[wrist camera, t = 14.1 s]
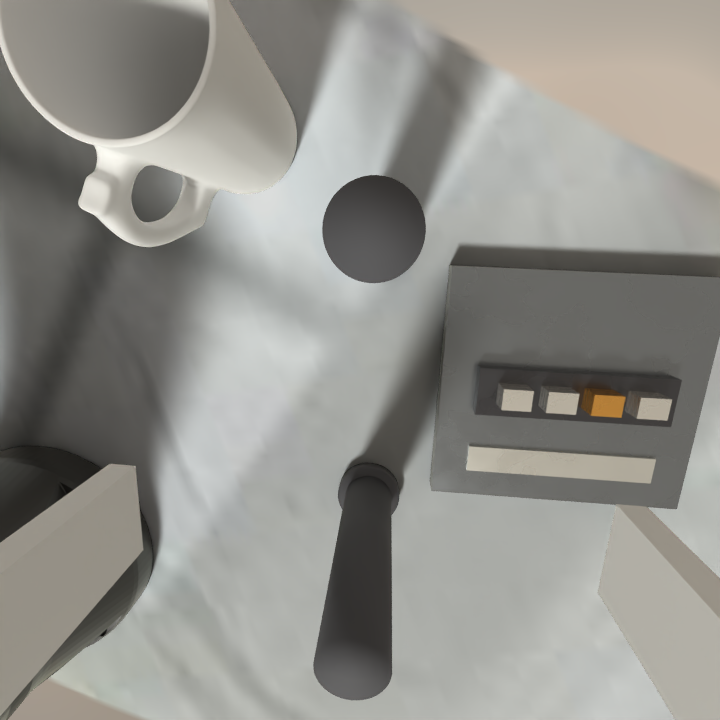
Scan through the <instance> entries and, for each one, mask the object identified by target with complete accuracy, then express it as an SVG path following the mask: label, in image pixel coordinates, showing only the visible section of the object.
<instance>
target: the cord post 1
mask: <svg viewBox="0 0 720 720" xmlns="http://www.w3.org/2000/svg"><path fill="white" fill-rule="evenodd" d="M322 229H323V240H324V244H325V248H326V250H327V253H328V255H329V257H330V258H331V260H332V262H333V263H334V264H335V265H336V267H337V268H339V269H340V270H341V271H342V272H343V273H344V274H346V275H347V276H349V277H351V278H353V279H355V280H358V281H362V282H367V283H380V282H385V281H389V280H392V279H394V278H396V277H398V276H400V275H401V274H403V273H404V272H405V271H407V270H408V269H409V268H410V267H411V266H412V265H413V263H414V262H415V261H416V259H417V258H418V256H419V254H420V252H421V249H422V247H423V244H424V240H425V233H426V225H425V217H424V213H423V210H422V208H421V205H420V203H419V201H418V200H417V198H416V197H415V195H414V194H413V193H412V192H411V191H410V190H409V189H408V188H407V187H406V186H405V185H403V184H402V183H400V182H399V181H397V180H395V179H392V178H389V177H385V176H379V175H369V176H364V177H360V178H357V179H355V180H353V181H351V182H349V183H347V184H346V185H344V186H343V187H342V188H341V189H340V190H339V191H338V192H337V193H336V194H335V195H334V196H333V198H332V199H331V201H330V203H329V205H328V207H327V209H326V212H325V215H324V219H323V228H322Z"/></svg>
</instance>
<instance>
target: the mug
mask: <svg viewBox="0 0 720 720" xmlns="http://www.w3.org/2000/svg"><path fill="white" fill-rule="evenodd" d="M0 47H1V50H2V53H3V56H4V58H5V61H6V63H7V65H8V68H9V70H10V72H11V74H12V76H13V78H14V79H15V81H16V83H17V85H18V86H19V88H20V89H21V91H22V92H23V94H24V95H25V97H26V98H27V99H28V100H29V102H30V103H31V104H32V105H33V106H34V108H35V109H36V110H37V111H38V112H39V113H40V114H41V115H42V116H43V117H44V118H45V119H47V120H48V121H49V122H50V123H51V124H53V125H54V126H55V127H57V128H58V129H59V130H61V131H62V132H64V133H66V134H67V135H69V136H71V137H73V138H75V139H77V140H80V141H82V142H85V143H88V144H92V145H94V147H95V149H96V152H97V164H96V168H95V171H94V172H93V173H92V174H90V175H88V176H87V178H86V180H85V182H84V186H83V189H82V193H81V195H80V198H79V202H78V203H79V206H80V207H81V208H82V209H83V210H85V211H87V212H89V213H91V214H94V215H95V216H96V217H97V218H98V219H99V220H100V221H101V222H102V223H103V224H104V225H105V226H106V227H107V228H108V229H110V230H111V231H112V232H113V233H114V234H116V235H117V236H118V237H120V238H121V239H123V240H125V241H127V242H129V243H131V244H133V245H137V246H141V247H155V246H160V245H164V244H167V243H170V242H172V241H174V240H176V239H178V238H180V237H182V236H184V235H186V234H188V233H190V232H192V231H194V230H196V229H198V228H200V227H202V226H203V225H204V223H205V221H206V218H207V215H208V211H209V208H210V205H211V202H212V200H213V198H214V196H215V194H216V193H217V192H218V191H219V190H225V191H228V192H232V193H236V194H255V193H259V192H262V191H264V190H267V189H269V188H270V187H272V186H273V185H275V184H276V183H277V182H278V181H280V180H281V178H282V177H283V176H284V175H285V174H286V172H287V171H288V169H289V167H290V165H291V163H292V161H293V158H294V155H295V151H296V146H297V128H296V122H295V118H294V115H293V112H292V109H291V107H290V105H289V103H288V101H287V99H286V98H285V96H284V94H283V92H282V90H281V88H280V86H279V84H278V83H277V81H276V79H275V78H274V76H273V74H272V73H271V71H270V69H269V68H268V66H267V64H266V63H265V61H264V59H263V57H262V56H261V54H260V52H259V51H258V49H257V47H256V45H255V44H254V42H253V40H252V39H251V37H250V35H249V33H248V32H247V30H246V28H245V26H244V25H243V23H242V21H241V20H240V18H239V16H238V14H237V13H236V11H235V9H234V8H233V6H232V4H231V2H230V1H229V0H0ZM150 165H155V166H158V167H161V168H164V169H167V170H170V171H172V172H175V173H178V174H181V176H182V179H183V185H182V190H181V194H180V197H179V199H178V201H177V203H176V205H175V206H174V207H173V209H172V210H171V211H170V212H169V213H168V214H167V215H166V216H165V217H163V218H162V219H159V220H157V221H153V222H142V221H141V220H140V219H139V218H138V217H137V215H136V214H135V212H134V209H133V206H132V200H131V197H132V189H133V185H134V182H135V179H136V177H137V175H138V173H139V172H140V171H141V170H142V169H143V168H144V167H145V166H150Z"/></svg>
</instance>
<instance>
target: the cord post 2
mask: <svg viewBox="0 0 720 720" xmlns="http://www.w3.org/2000/svg"><path fill="white" fill-rule="evenodd" d="M338 499H339V503H340V506H341V508H342V509H343V511H342V516H341V521H340V526H339V532H338V537H337V542H336V547H335V553H334V558H333V563H332V569H331V574H330V579H329V584H328V590H327V595H326V600H325V605H324V611H323V616H322V621H321V626H320V632H319V637H318V642H317V648H316V653H315V658H314V665H313V666H314V673H315V676H316V678H317V680H318V682H319V683H320V684H321V685H322V686H323V688H325V689H326V690H327V691H328V692H330V693H331V694H333V695H335V696H337V697H340V698H343V699H348V700H364V699H368V698H372V697H374V696H376V695H378V694H379V693H381V692H382V691H383V690H384V689H385V688H386V687H387V686H388V684H389V682H390V680H391V676H392V557H391V515H392V514H393V513H394V511H395V510H396V508H397V505H398V502H399V488H398V483H397V480H396V478H395V477H394V475H393V474H392V473H391V472H390V471H389V470H388V469H386V468H385V467H383V466H381V465H378V464H374V463H362V464H358V465H356V466H354V467H352V468H350V469H349V470H348V471H347V472H346V473H345V474H344V476H343V477H342V479H341V482H340V486H339V491H338Z"/></svg>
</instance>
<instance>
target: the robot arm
mask: <svg viewBox="0 0 720 720" xmlns="http://www.w3.org/2000/svg"><path fill="white" fill-rule="evenodd" d="M152 562H153V551H152V542H151V538H150V534H149V530H148V527H147V525H146V522H145V520H144V518H143V516H142V514H141V512H140V508H139V497H138V487H137V476H136V466H131V465H119V464H109V465H107V466H106V467H105V468H103V469H100V468H99V467H97V466H96V465H94V464H92V463H91V462H89V461H87V460H85V459H83V458H81V457H79V456H76V455H74V454H71V453H68V452H65V451H62V450H58V449H54V448H48V447H40V446H23V447H15V448H10V449H6V450H3V451H0V720H8V718H9V717H10V716H11V715H12V714H13V712H14V711H15V710H16V709H17V708H18V707H19V705H20V704H21V703H22V702H23V700H24V699H25V698H26V697H27V696H28V695H29V693H30V692H31V691H32V690H33V689H35V688H36V687H37V686H38V685H40V684H41V683H42V682H44V681H45V680H46V679H48V678H49V677H50V676H51V675H53V674H54V673H55V672H57V671H58V670H59V669H60V668H61V667H63V666H64V665H65V664H66V663H67V662H69V661H70V660H71V659H72V658H73V657H74V656H76V655H77V654H78V653H79V652H80V651H82V650H83V649H84V648H85V647H88V646H90V645H92V644H94V643H95V642H97V641H99V640H100V639H102V638H103V637H104V636H106V635H107V634H109V633H110V632H111V631H112V630H113V629H114V628H115V627H116V626H117V625H118V624H119V623H120V622H121V621H122V620H123V619H124V617H125V616H126V615H127V613H128V612H129V611H130V609H131V608H132V607H133V605H134V604H135V603H136V601H137V600H138V599H139V597H140V596H141V594H142V593H143V591H144V590H145V588H146V586H147V583H148V581H149V578H150V574H151V570H152ZM598 594H599V595H600V597H601V599H602V600H603V602H604V604H605V605H606V607H607V609H608V610H609V612H610V613H611V615H612V617H613V618H614V620H615V622H616V623H617V625H618V627H619V628H620V630H621V632H622V633H623V635H624V636H625V638H626V640H627V641H628V643H629V645H630V646H631V648H632V650H633V651H634V653H635V655H636V656H637V658H638V659H639V661H640V663H641V664H642V666H643V668H644V669H645V671H646V673H647V674H648V676H649V677H650V679H651V681H652V682H653V684H654V686H655V687H656V689H657V691H658V692H659V694H660V696H661V697H662V699H663V700H664V702H665V704H666V705H667V707H668V709H669V710H670V712H671V714H672V715H673V717H674V719H675V720H720V578H719V577H718V576H717V575H716V574H715V573H714V572H713V571H712V570H711V569H710V568H709V567H708V566H707V565H706V564H704V563H703V562H702V561H701V560H700V559H699V558H698V557H697V556H696V555H695V554H694V553H693V552H692V551H691V550H690V549H689V548H688V547H687V546H686V545H685V544H684V543H683V542H682V541H681V540H680V539H679V538H678V537H677V536H676V535H675V534H674V533H673V532H672V531H671V530H670V529H669V528H668V527H667V526H666V525H665V524H664V523H663V522H662V521H661V520H660V519H659V518H658V517H657V516H656V515H655V514H654V513H653V512H652V511H651V510H650V509H649V508H648V507H645V506H633V505H620V504H616V507H615V512H614V517H613V522H612V527H611V531H610V536H609V541H608V546H607V550H606V555H605V560H604V565H603V569H602V574H601V579H600V584H599V588H598Z"/></svg>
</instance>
